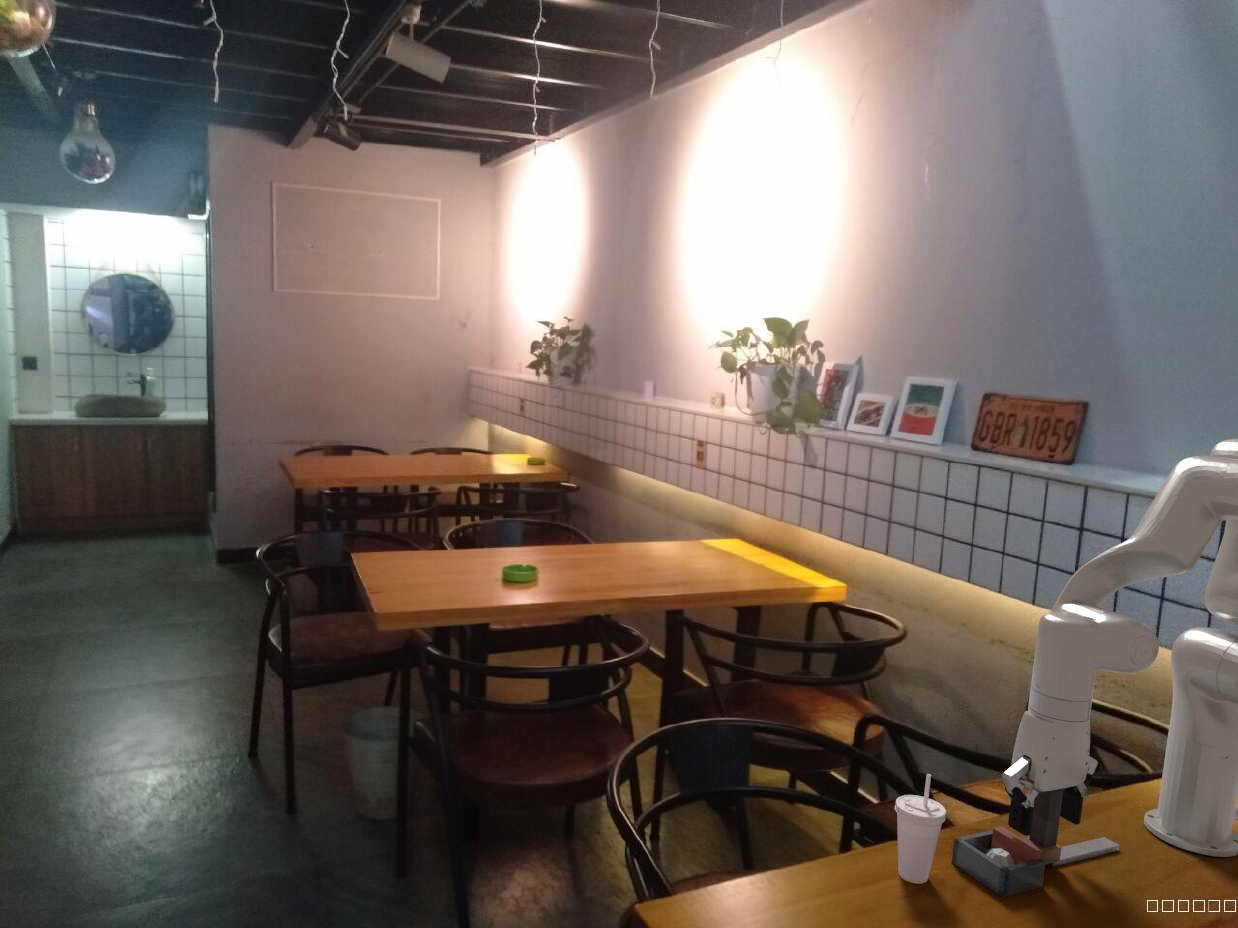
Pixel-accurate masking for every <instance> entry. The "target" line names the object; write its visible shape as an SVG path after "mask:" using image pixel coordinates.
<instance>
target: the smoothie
mask: <svg viewBox="0 0 1238 928" xmlns="http://www.w3.org/2000/svg"><path fill="white" fill-rule="evenodd" d="M931 777H932V774H930V773H927V774H926V777H925V785H924V795H923V796H921V795H916V794H915V795H914V794H904V795H901V796H898V797H897V798H896V800H895V805H894V810H895V812H896V813H897V815H896V817H897V818H896V824H897V864H898V865H897V866H898V867H897V868H898V869H897V870H898V875H899V877H900V878H901V879H902V880H904V881H906V882H908V883H912V884H918V885H920V884H921V885H922V884H924V883H927V882H928V879H929V875H930V872H931V868H932V864H933V860H934V856H935V853H936V848H937V844H938V840H939V837H940V833H941V829H942V825H943V823H945V821H946V819H947V818H946V814H947V810H946V807H944V806H943V804H941V803H940V802H938V801H937V800H934V799H932V798H929V796H930V789H931V788H930V787H931V780H932V779H931Z"/></svg>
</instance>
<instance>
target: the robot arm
mask: <svg viewBox="0 0 1238 928" xmlns="http://www.w3.org/2000/svg"><path fill="white" fill-rule="evenodd" d="M1224 521H1225V528H1224V533H1223V537H1222V540H1221V542H1220V546H1219V548H1218V552H1217V554H1216V557H1215V560H1214V563H1213V566H1212V569H1211V572H1210V575H1209V579H1208V581H1207V584H1206V588H1205V592H1204V605H1205V607H1206V609H1207V611H1208V612H1209V613H1210V614H1211V615H1212V616H1214V617H1215V618H1217V619H1220V620H1222V621H1224V622H1227V623H1230V624H1234V625H1236V626H1238V438H1230V439H1225V440H1222V441H1220V442H1218V443H1217V444H1215V445H1214V446H1213V448H1212V450H1211V451H1210V454H1209V455H1193V456H1189V457H1186V458H1184V459H1182V460H1180V461H1179V462H1178V463H1177V464H1176V465H1175V466H1173V468H1172V470H1171V471H1170V473H1169V474H1168V476H1167V477H1166V479H1165V480H1164V482H1163V484H1162V485H1161V487H1160V489H1159V490H1158V492H1157V494H1156V495H1155V497H1154V499H1153V500H1152V502H1151V504H1150V505H1149V506H1148V508H1147V510H1146V512H1145V513H1144V515H1143V517H1142V518H1141V520H1140V522H1139V523H1138V524H1137V526H1136V528H1135V530H1134V531H1133V533H1132V534H1131V536H1129V538H1128V539H1127V540H1125V541H1123V542H1121V543H1119V544H1117V545H1114V546H1113V547H1111V548H1109V549H1107V550H1105V551H1103V552H1102V553H1100V554H1099V555H1097V556H1096V557H1094V558H1092V559H1090V560H1088V562H1086V563H1085V564H1083V565H1082V566H1081V567H1080V568H1079V569H1077V570H1076V571H1075V572H1074V573H1073V574H1072V576H1070V578H1069V579H1068V581H1067V583H1066V584H1065V586H1064V587H1063V589H1062V591H1061V592H1060V593H1059V596H1058V597H1057V599H1056V600H1055V602H1054V604H1053V606H1052V608H1051V609H1050V612H1046V613H1044V614H1042V616H1041V617H1040V619H1039V621H1038V627H1037V635H1036V642H1035V651H1034V658H1033V667H1032V674H1031V675H1032V676H1031V682H1030V691H1029V698H1028V699H1029V700H1028V705H1027V706H1028V707H1027V709H1028V710H1025V711H1024V713H1023V715H1022V717H1021V721H1020V724H1019V726H1018V727H1019V728H1018V730H1017V734H1016V739H1015V743H1014V747H1013V753H1012V759H1011V764H1010V767H1009V768H1007V770H1005V771H1004V772H1003V773H1002V775H1001V777H1002V781H1003V785H1004V791H1005V793H1006V794H1007V797H1008V799H1009V800H1010V805H1009V813H1008V814H1009V815H1008V820H1007V821H1008V822H1007V823H1008V824H1007V825H1008V826H1009V828H1012V829H1013V830H1014V831H1016V832H1018V833H1020V834H1022V835H1023V836H1026V837H1029V836H1030V833H1031V826H1032V818H1033V809H1034V808H1033V806H1031V805H1032V803H1034V799H1035V798H1036V796H1037V794H1038V793H1039V792H1047V791H1052V790H1057V789H1063V797H1062V804H1061V812H1060V818H1062V819H1064V820H1066V821H1068V822H1070V823H1071V824H1073V825H1080V823H1081V818H1082V811H1083V805H1084V804H1083V803H1084V797H1085V796H1086V795H1087V794H1088V786H1089V785H1090V783H1091V782H1092V780H1093V775H1094V772H1096V771H1095V770H1096V769H1097V767H1098V764H1099V763H1098V760H1096V759H1095V758H1093V757H1092V756H1090V750H1091V749H1090V748H1091V722H1090V721H1091V718H1090V717H1091V713H1092V712H1091V709H1092V704H1093V703H1092V702H1093V696H1094V689H1095V680H1096V673H1097V672H1098V671H1104V672H1109V673H1110V672H1112V673H1117V674H1135V673H1139V672H1141V671H1144V670H1146V669H1148V668H1149V667H1150V666H1151V665H1152V664H1153V663H1154V662H1155V661H1156V658H1157V657H1158V654H1159V650H1160V644H1159V643H1160V642H1159V640H1158V637H1157V635H1156V633H1155V631H1153V630H1152V628H1151V627H1150V626H1149V625H1147V624H1146V623H1144V622H1142V621H1140V620H1138V619H1135V618H1133V617H1131V616H1128V615H1123V614H1120V613H1117V611H1116V612H1115V611H1112V610H1110V609H1105V608H1103V607H1101V606H1102V605H1103V604H1104V602H1105V601H1106V600H1107V599H1108V598H1109V597H1110V596H1112V595H1113V594H1115V592H1118V591H1119V590H1120V589H1122V588H1126V587H1127V586H1130V585H1133V584H1136V583H1140V582H1145V581H1151V580H1157V579H1162V578H1168V577H1175V576H1178V575H1182V574H1183V575H1184V574H1186V573H1188V572H1190V571H1193V569H1194V567H1195V566H1196V565H1197V562H1198V561H1199V560H1200V557H1201V556H1202V555H1203V553H1204V551H1205V549H1206V547H1207V546H1208V545H1209V543H1210V541H1211V539H1212V538H1213V536H1214V534H1215V533H1216V531H1217V529H1218V527H1220V525H1221V523H1222V522H1224ZM1170 653H1171V654H1170V666H1171V667H1170V668H1171V676H1172V677H1171V679H1172V703H1171V712H1170V721H1169V726H1168V727H1169V728H1168V734H1167V741H1166V747H1165V755H1164V761H1163V762H1164V763H1163V769H1162V774H1161V775H1162V777H1161V783H1160V789H1159V796H1158V803H1157V804H1158V805H1157V808H1154V809H1153V808H1152V809H1150V810H1148V811H1147V812H1145V814H1144V819H1143V824H1144V826H1145V827H1146V828H1147V830H1148V831H1149V832H1150V833H1152V834H1153V835H1154V836H1156V837H1157V838H1158V839H1160V840H1162V841H1164V842H1166V843H1168V844H1170V845H1172V846H1174V847H1176V848H1179V849H1182V850H1185V851H1188V852H1191V853H1194V854H1199V855H1205V856H1209V857H1216V858H1217V857H1218V858H1220V857H1221V858H1229V857H1230V858H1231V857H1234V856H1238V833H1236V832H1235V831H1234V830H1233V826H1234V824H1235V823H1236V821H1238V805H1237V799H1238V634H1236V633H1232V632H1230V631H1226V630H1223V629H1219V628H1215V627H1214V628H1213V627H1204V626H1200V627H1199V626H1197V627H1191V628H1190V629H1187V630H1185V631H1183V632H1181V633H1180V634H1179V636H1178V637H1177V638H1176V640H1175V641H1174V643H1173V646H1172V649H1171V652H1170ZM1029 780H1031V781H1032V782H1031V781H1029ZM1024 788H1027V789H1028V791H1027V792H1026V793H1024V792H1023V789H1024Z"/></svg>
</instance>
